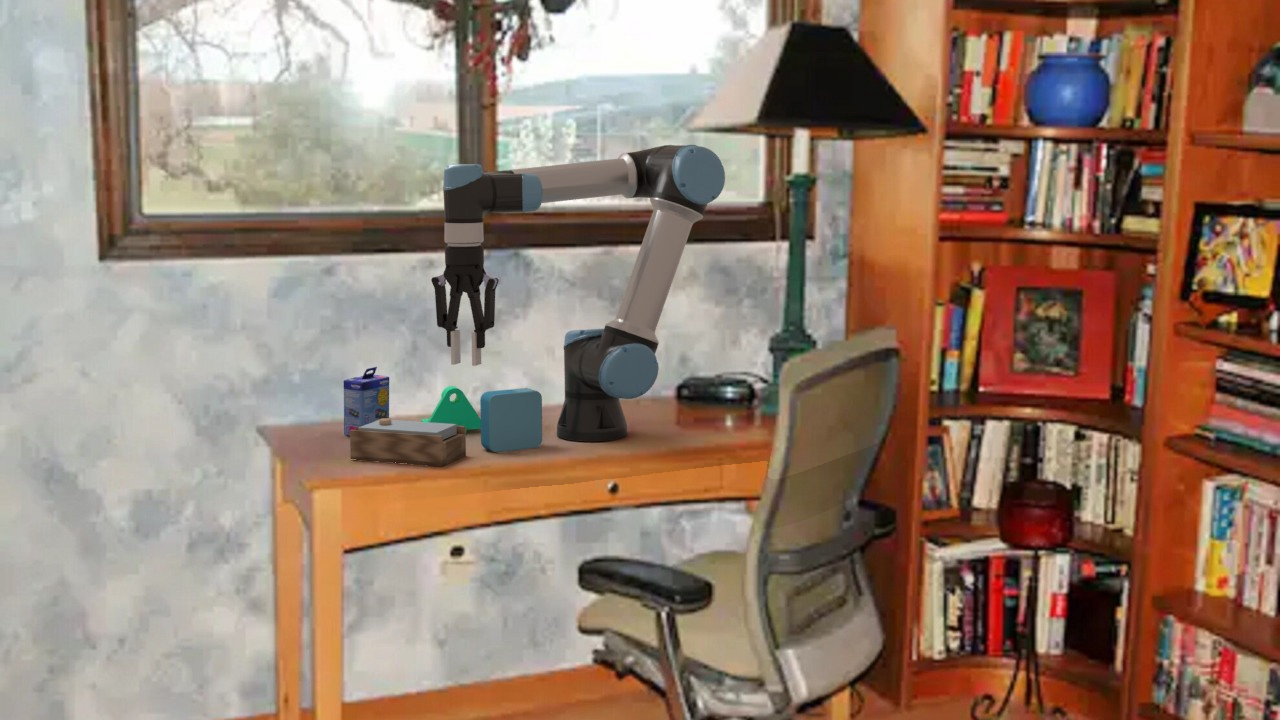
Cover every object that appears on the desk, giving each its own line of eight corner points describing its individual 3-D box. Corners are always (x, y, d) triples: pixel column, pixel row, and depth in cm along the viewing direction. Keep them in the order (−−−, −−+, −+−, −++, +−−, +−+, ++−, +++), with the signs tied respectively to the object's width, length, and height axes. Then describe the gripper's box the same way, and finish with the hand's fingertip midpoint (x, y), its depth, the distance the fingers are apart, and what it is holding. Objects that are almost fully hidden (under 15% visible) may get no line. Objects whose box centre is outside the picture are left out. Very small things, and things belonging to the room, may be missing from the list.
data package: (533, 443, 321) (532, 387, 320) (542, 447, 318) (542, 390, 316) (480, 449, 315) (479, 392, 314) (490, 453, 312) (489, 395, 310)
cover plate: (456, 433, 308) (456, 419, 308) (436, 442, 300) (436, 427, 299) (380, 428, 314) (380, 414, 313) (359, 437, 305) (358, 422, 305)
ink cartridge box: (363, 438, 327) (361, 371, 325) (342, 436, 329) (340, 369, 327) (391, 430, 335) (390, 365, 333) (371, 428, 338) (369, 363, 336)
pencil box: (465, 455, 309) (465, 426, 309) (442, 466, 299) (441, 436, 298) (376, 449, 316) (376, 420, 315) (350, 459, 305) (349, 430, 304)
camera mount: (473, 427, 340) (472, 381, 339) (482, 433, 333) (481, 386, 331) (420, 431, 336) (419, 384, 334) (428, 437, 329) (427, 390, 327)
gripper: (511, 244, 298) (513, 363, 301) (433, 242, 303) (435, 359, 307) (496, 246, 291) (498, 369, 294) (416, 244, 296) (418, 364, 300)
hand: (466, 363), depth 300 cm, fingers open, 4 cm apart
